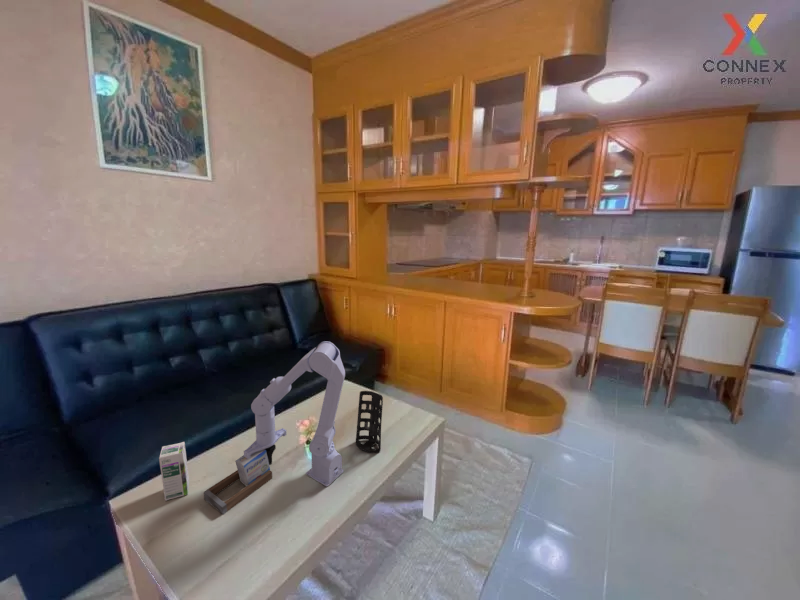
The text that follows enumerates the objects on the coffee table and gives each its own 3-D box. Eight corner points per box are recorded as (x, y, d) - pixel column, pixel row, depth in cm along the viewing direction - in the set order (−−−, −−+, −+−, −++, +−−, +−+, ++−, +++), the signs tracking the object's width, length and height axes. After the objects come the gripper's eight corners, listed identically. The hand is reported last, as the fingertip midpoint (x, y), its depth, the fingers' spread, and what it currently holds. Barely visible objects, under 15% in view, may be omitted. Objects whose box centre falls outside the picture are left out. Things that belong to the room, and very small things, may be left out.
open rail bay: (272, 478, 105) (272, 471, 105) (222, 514, 92) (222, 507, 91) (253, 466, 110) (253, 459, 109) (204, 499, 96) (203, 491, 96)
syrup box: (164, 501, 95) (158, 458, 92) (167, 487, 100) (161, 445, 97) (187, 495, 97) (182, 452, 94) (189, 481, 103) (184, 440, 99)
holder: (349, 446, 121) (354, 395, 118) (359, 436, 128) (364, 387, 125) (376, 455, 117) (381, 403, 114) (385, 445, 124) (390, 395, 121)
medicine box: (248, 488, 101) (243, 466, 98) (240, 481, 103) (234, 460, 100) (270, 470, 107) (266, 449, 104) (262, 464, 109) (257, 443, 106)
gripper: (276, 413, 114) (277, 447, 117) (236, 434, 102) (239, 472, 105) (290, 420, 110) (291, 455, 113) (250, 443, 98) (253, 482, 101)
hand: (267, 464), depth 109 cm, fingers closed, pressing on medicine box
